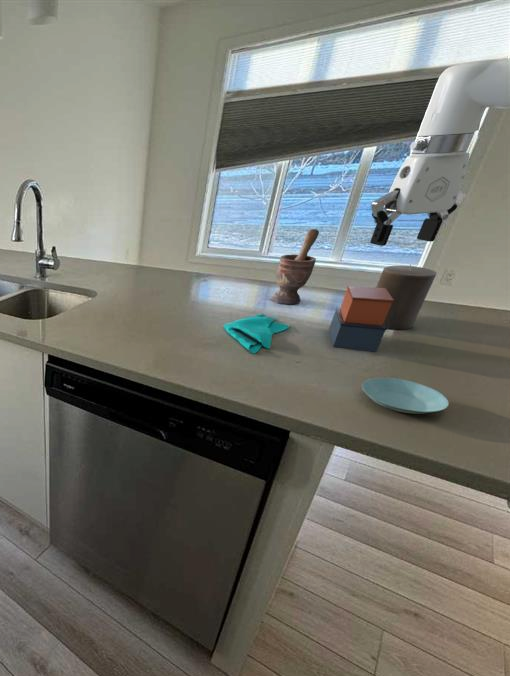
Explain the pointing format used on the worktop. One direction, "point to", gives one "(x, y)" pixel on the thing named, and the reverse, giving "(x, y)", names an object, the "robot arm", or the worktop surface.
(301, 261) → the mortar and pestle
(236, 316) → the worktop surface
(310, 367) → the worktop surface
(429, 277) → the pillar candle
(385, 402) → the saucer
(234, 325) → the cloth
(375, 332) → the bottom container
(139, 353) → the worktop surface
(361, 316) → the container
